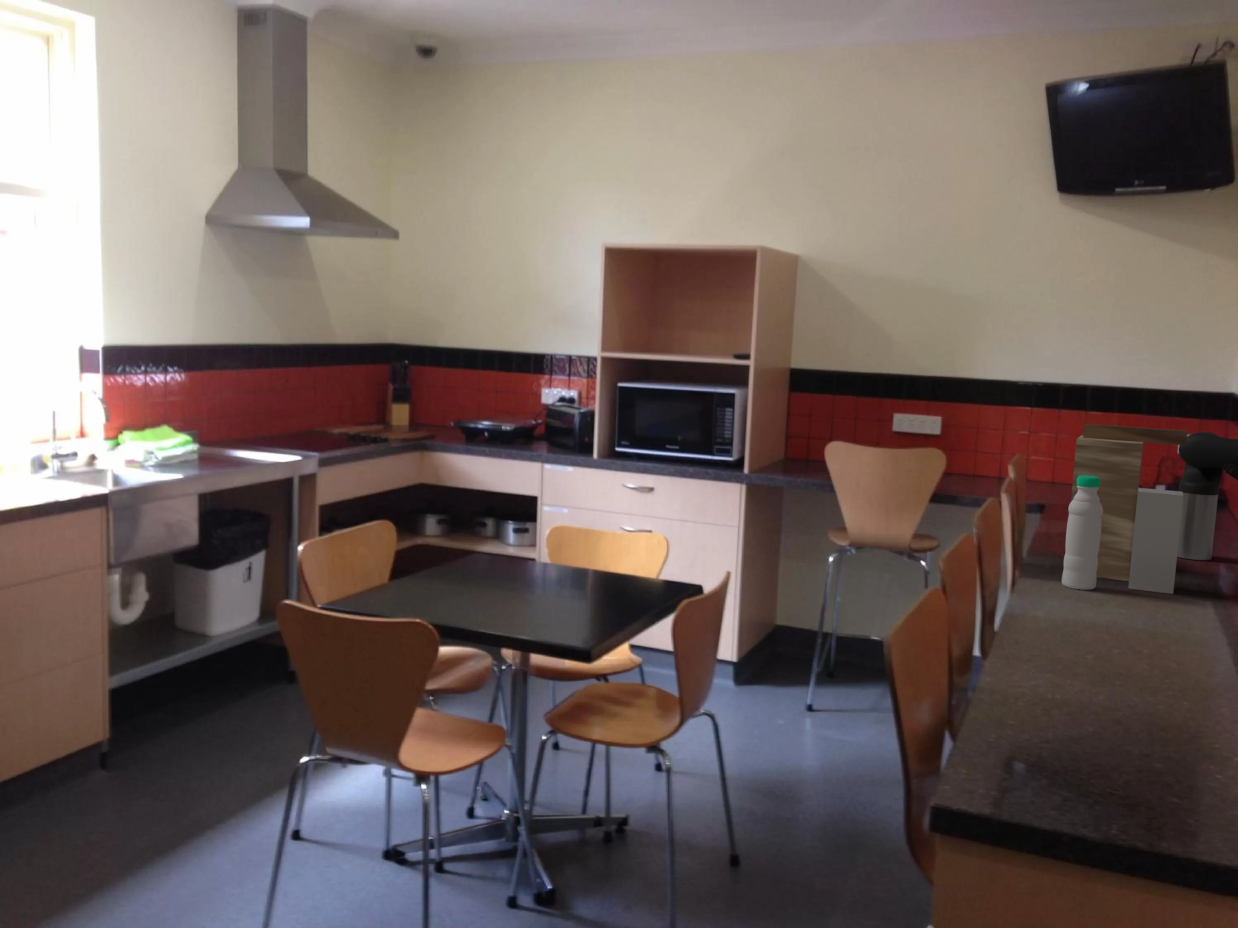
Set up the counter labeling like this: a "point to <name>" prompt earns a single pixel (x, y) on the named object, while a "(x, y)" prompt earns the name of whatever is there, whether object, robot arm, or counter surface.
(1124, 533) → the wooden open box
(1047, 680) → the counter surface
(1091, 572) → the white bottle
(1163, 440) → the batten
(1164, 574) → the riser block
